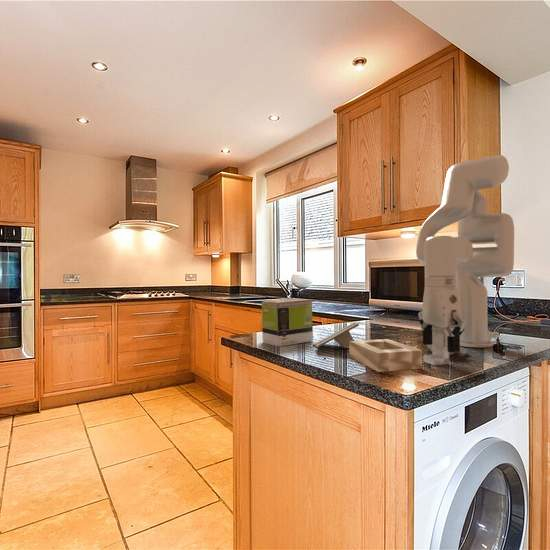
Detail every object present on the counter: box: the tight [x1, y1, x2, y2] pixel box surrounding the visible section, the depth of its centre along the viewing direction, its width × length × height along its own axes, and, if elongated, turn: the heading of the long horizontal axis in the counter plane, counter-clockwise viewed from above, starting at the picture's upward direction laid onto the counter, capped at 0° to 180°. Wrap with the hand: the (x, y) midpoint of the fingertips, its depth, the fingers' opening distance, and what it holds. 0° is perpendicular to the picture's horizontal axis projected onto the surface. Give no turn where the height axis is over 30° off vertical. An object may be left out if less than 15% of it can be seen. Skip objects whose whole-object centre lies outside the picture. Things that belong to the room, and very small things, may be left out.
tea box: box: [261, 298, 314, 347], centre depth 125 cm, size 15×10×15 cm, turn 124°
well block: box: [348, 338, 423, 373], centre depth 96 cm, size 12×16×4 cm
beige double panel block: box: [313, 321, 361, 349], centre depth 114 cm, size 16×9×15 cm
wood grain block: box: [422, 325, 450, 366], centre depth 95 cm, size 4×4×10 cm
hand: (440, 348), depth 95 cm, fingers open, 9 cm apart
